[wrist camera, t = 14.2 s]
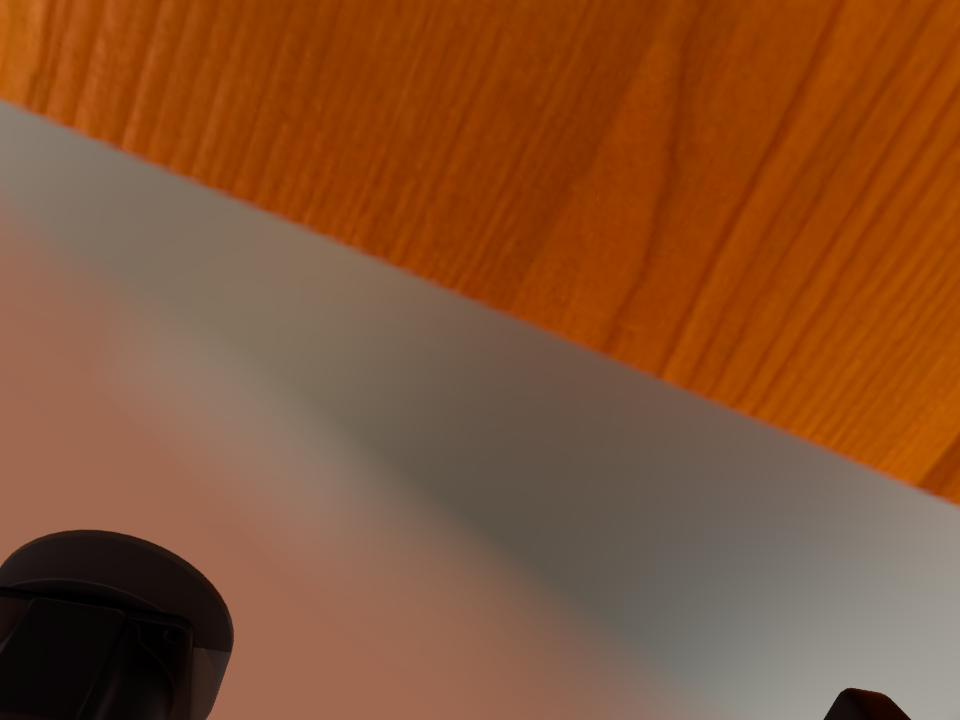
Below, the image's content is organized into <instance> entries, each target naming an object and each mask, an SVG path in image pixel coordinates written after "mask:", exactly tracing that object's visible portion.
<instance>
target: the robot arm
mask: <svg viewBox="0 0 960 720" xmlns="http://www.w3.org/2000/svg"><path fill="white" fill-rule="evenodd" d="M174 631H176V632H174ZM177 632H179V633H177ZM193 646H194V625H193V624H192V622H191V621H190V620H189V619H187V618H185V617H183V616H180V615H174V614H168V613H162V612H156V611H150V610H143V609H137V608H131V607H125V606H119V605H112V604H106V603H100V602H94V601H88V600H81V599H75V598H69V597H63V596H57V595H50V594H44V593H38V592H32V591H26V590H19V589H13V588H7V587H1V586H0V720H190V702H191V683H192V665H193ZM824 720H911V719H910V718H909V717H908V716H907V715H906V714H905V713H904V712H903V711H902V710H901V709H900V708H899V707H898V706H897V705H896V704H895V703H894V702H893V701H892V700H891V699H890V698H889V697H887V696H886V695H884V694H882V693H878V692H873V691H867V690H861V689H855V688H847V689H845V690H844V691H842V692H841V693H840V694H839V695H838V697H837V698H836V700H835V702H834V703H833V705H832V707H831V708H830V710H829V712H828V713H827V715H826V716H825V718H824Z"/></svg>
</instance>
